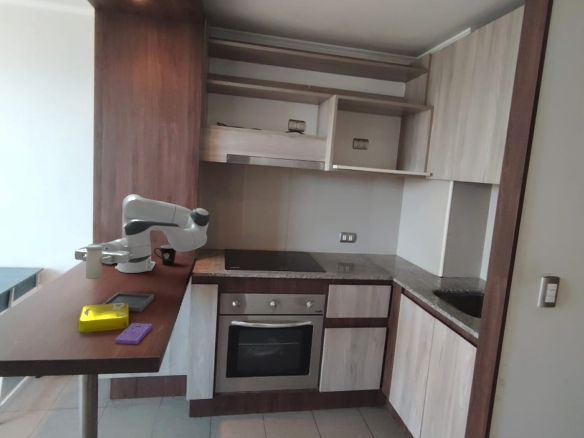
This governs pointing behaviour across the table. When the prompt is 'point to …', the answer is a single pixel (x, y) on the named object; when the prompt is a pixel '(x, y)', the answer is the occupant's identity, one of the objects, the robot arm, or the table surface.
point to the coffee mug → (167, 254)
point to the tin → (93, 262)
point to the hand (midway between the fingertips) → (93, 259)
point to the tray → (131, 300)
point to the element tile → (104, 317)
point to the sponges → (133, 333)
